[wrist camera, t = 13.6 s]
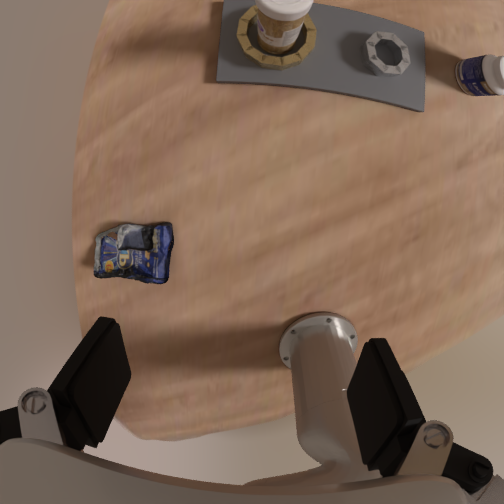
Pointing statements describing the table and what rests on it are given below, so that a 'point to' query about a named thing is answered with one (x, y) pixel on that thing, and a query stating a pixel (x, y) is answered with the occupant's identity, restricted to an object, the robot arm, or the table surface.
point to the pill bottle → (481, 75)
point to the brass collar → (272, 61)
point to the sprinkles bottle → (280, 23)
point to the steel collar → (394, 46)
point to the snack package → (135, 253)
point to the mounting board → (329, 57)
